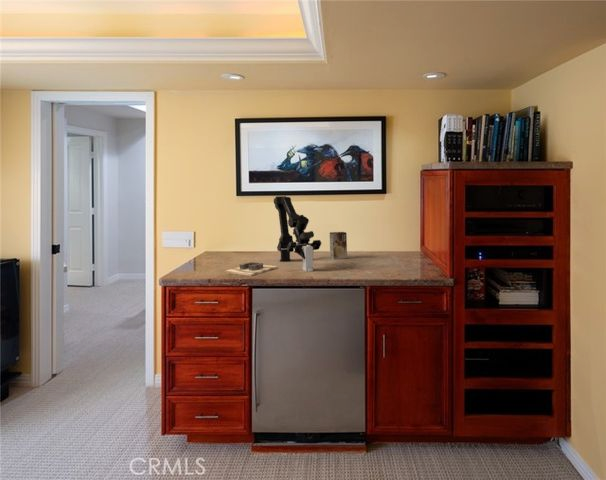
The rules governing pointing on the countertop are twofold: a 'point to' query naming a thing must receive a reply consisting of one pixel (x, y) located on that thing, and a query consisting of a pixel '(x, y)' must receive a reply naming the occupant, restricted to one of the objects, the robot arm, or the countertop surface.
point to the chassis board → (251, 269)
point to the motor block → (308, 258)
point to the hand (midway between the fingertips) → (308, 258)
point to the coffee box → (338, 245)
